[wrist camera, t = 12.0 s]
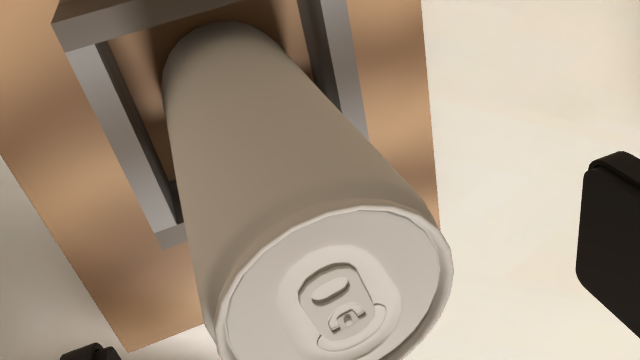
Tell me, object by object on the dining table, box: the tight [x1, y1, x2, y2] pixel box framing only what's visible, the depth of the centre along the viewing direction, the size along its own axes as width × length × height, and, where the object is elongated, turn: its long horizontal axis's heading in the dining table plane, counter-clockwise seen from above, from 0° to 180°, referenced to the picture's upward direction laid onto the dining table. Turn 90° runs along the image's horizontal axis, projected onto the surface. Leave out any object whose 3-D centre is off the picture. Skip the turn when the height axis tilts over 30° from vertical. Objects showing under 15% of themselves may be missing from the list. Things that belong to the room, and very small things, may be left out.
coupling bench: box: [0, 0, 440, 353], centre depth 18 cm, size 22×16×4 cm
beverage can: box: [161, 21, 454, 360], centre depth 14 cm, size 5×5×12 cm
